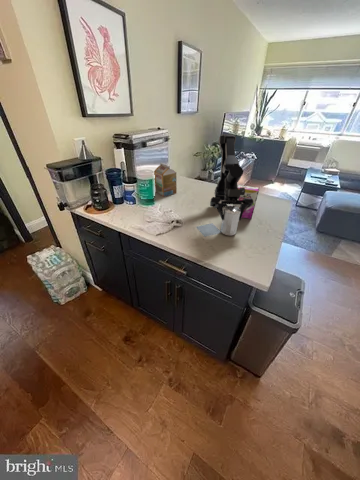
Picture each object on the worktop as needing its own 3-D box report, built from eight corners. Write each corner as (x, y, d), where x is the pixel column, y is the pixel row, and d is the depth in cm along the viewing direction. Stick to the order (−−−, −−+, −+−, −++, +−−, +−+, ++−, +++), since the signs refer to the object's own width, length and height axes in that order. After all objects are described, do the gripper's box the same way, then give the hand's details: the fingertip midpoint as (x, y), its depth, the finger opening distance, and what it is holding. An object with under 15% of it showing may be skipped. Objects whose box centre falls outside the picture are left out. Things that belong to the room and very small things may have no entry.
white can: (227, 225, 99) (230, 204, 92) (239, 231, 94) (243, 210, 88) (217, 230, 95) (220, 209, 88) (229, 237, 91) (233, 215, 84)
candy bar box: (230, 216, 110) (236, 187, 100) (232, 212, 114) (237, 184, 104) (251, 219, 107) (259, 190, 97) (252, 215, 111) (259, 187, 101)
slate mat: (212, 223, 103) (212, 223, 103) (221, 233, 96) (222, 232, 95) (195, 227, 100) (195, 226, 100) (204, 237, 93) (204, 236, 92)
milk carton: (155, 191, 138) (153, 163, 127) (168, 188, 143) (167, 161, 132) (163, 196, 131) (162, 167, 120) (176, 193, 136) (176, 164, 125)
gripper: (213, 179, 85) (212, 214, 82) (257, 180, 84) (258, 216, 81) (210, 190, 96) (209, 221, 93) (249, 191, 95) (249, 222, 92)
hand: (231, 220), depth 90 cm, fingers closed on white can, 7 cm apart
